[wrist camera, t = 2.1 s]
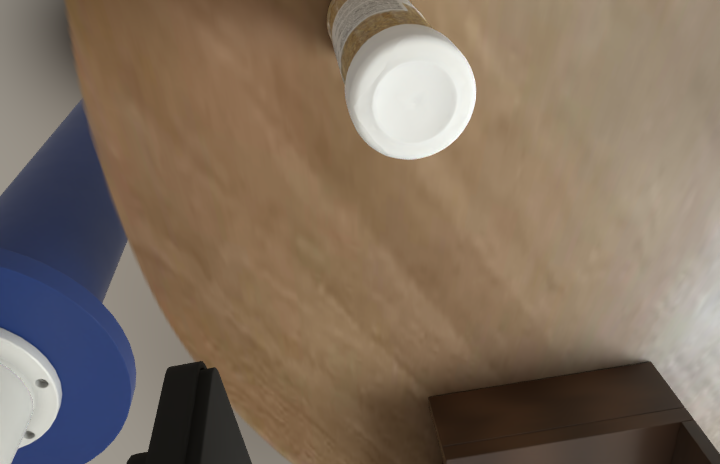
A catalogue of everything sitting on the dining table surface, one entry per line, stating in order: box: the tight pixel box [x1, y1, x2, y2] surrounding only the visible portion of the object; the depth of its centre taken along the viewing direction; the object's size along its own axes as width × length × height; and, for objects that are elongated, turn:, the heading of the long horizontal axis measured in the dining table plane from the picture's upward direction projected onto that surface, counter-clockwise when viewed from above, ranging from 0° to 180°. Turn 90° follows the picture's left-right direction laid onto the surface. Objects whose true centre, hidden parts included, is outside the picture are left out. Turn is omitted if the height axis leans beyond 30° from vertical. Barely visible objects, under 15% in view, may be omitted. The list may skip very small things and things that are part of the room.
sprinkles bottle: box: [327, 0, 476, 159], centre depth 27 cm, size 5×5×14 cm
